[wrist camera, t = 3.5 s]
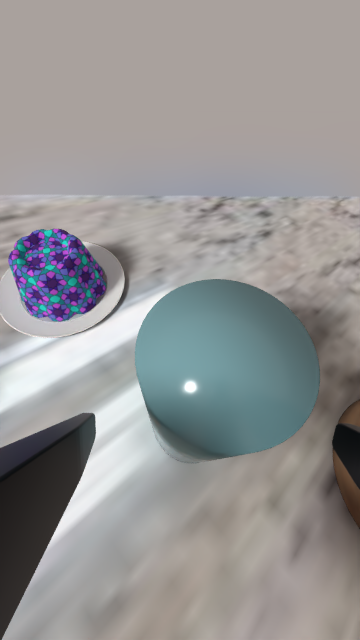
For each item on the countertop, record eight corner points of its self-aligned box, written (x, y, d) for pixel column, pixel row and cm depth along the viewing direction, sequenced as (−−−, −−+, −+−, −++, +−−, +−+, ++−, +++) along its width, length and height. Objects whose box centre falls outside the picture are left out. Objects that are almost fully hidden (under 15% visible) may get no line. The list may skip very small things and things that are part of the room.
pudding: (2, 257, 27) (-31, 214, 23) (114, 237, 30) (104, 195, 25) (-2, 357, 21) (-46, 327, 17) (137, 323, 24) (131, 288, 19)
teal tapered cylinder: (244, 439, 19) (360, 396, 8) (171, 479, 17) (184, 499, 6) (207, 369, 22) (252, 261, 10) (140, 398, 20) (110, 310, 9)
